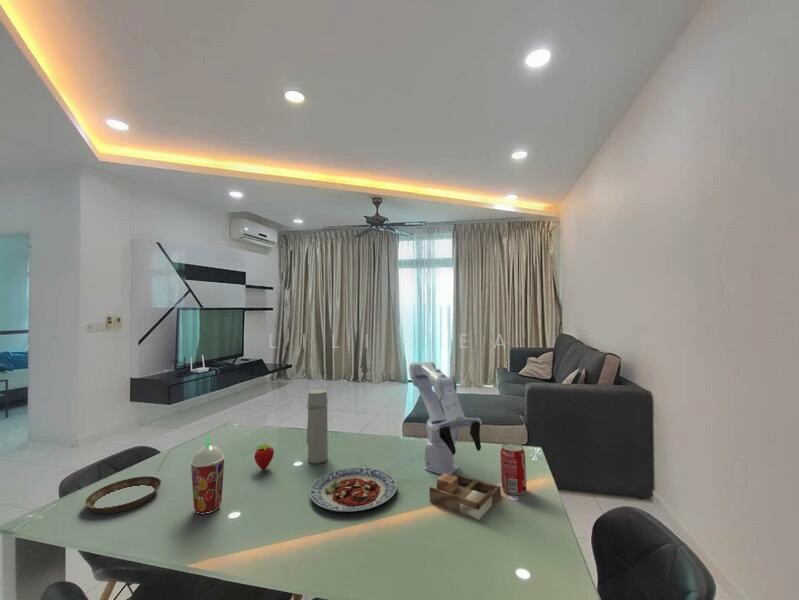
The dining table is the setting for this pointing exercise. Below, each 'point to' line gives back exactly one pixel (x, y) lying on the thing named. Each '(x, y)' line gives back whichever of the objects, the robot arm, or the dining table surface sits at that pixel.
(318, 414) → the water bottle
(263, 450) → the strawberry
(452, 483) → the block
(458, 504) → the wooden compartment tray
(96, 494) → the oval wooden ring
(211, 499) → the smoothie
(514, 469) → the soda can
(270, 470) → the dining table surface
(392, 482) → the ceramic plate
